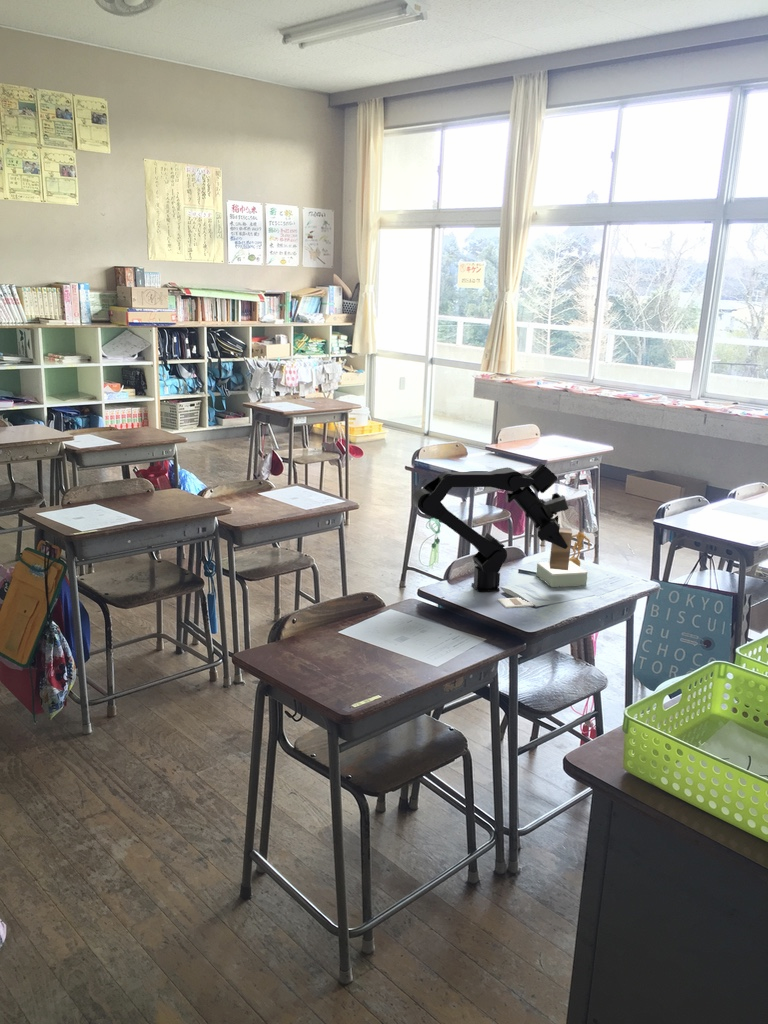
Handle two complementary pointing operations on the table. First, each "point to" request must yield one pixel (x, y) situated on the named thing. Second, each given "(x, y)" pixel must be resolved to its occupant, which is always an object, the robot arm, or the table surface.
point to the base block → (562, 575)
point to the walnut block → (561, 551)
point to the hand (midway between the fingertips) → (566, 545)
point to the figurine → (580, 538)
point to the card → (514, 602)
